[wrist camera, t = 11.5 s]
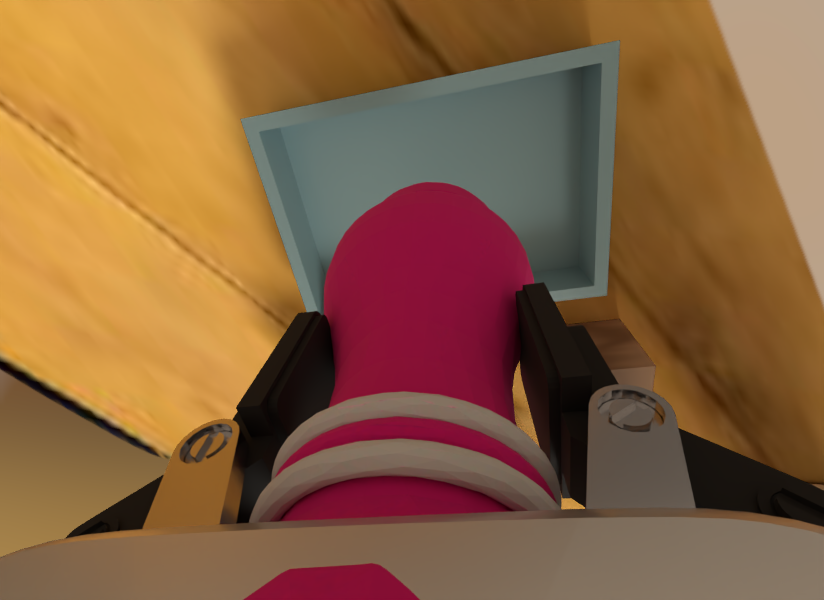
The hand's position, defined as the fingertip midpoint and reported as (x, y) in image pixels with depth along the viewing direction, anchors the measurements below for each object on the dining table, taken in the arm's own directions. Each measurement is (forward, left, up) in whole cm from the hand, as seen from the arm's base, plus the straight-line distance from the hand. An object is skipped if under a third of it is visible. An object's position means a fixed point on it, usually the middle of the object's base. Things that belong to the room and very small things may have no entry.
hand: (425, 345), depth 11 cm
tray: (0, 0, -18) cm, 18 cm away
